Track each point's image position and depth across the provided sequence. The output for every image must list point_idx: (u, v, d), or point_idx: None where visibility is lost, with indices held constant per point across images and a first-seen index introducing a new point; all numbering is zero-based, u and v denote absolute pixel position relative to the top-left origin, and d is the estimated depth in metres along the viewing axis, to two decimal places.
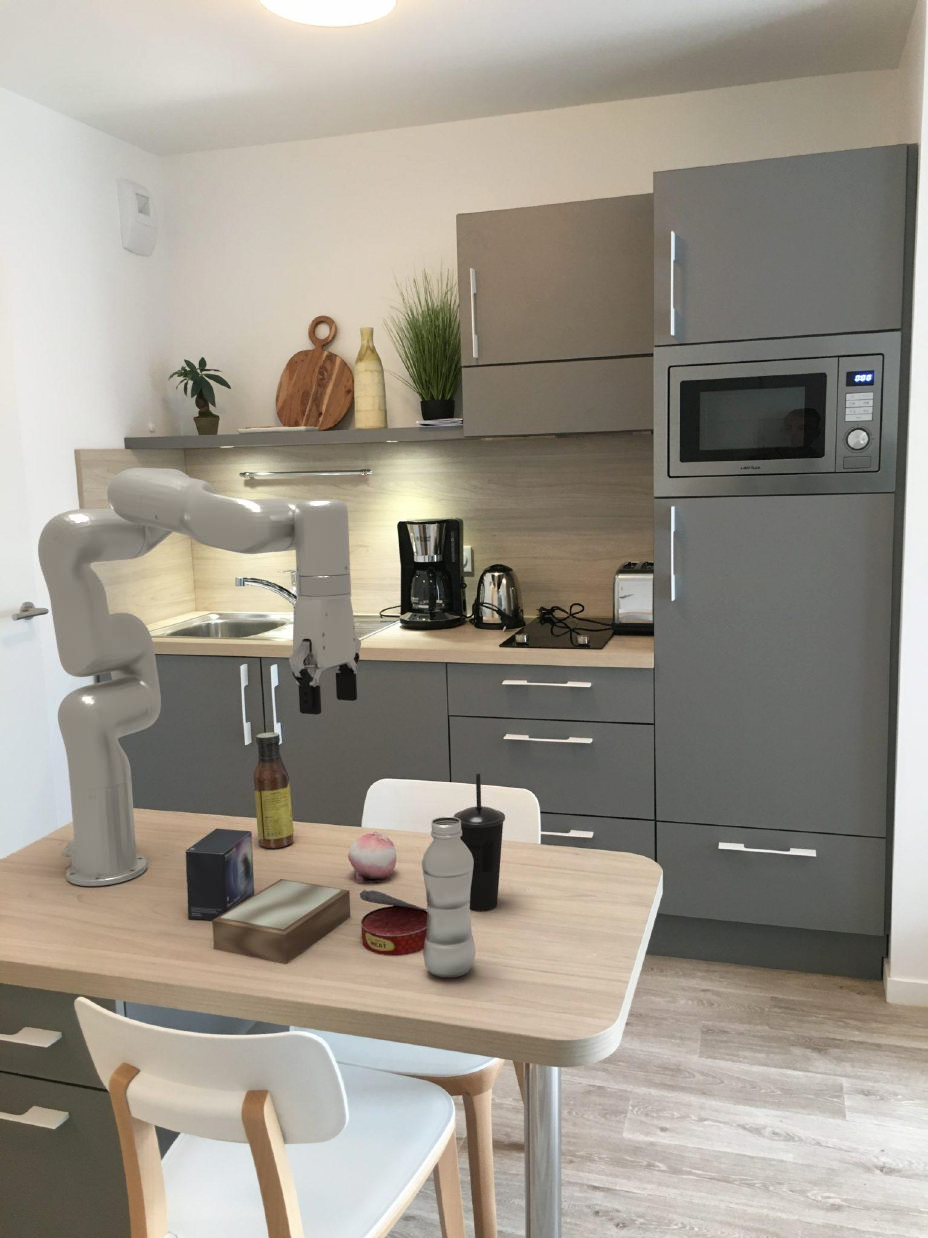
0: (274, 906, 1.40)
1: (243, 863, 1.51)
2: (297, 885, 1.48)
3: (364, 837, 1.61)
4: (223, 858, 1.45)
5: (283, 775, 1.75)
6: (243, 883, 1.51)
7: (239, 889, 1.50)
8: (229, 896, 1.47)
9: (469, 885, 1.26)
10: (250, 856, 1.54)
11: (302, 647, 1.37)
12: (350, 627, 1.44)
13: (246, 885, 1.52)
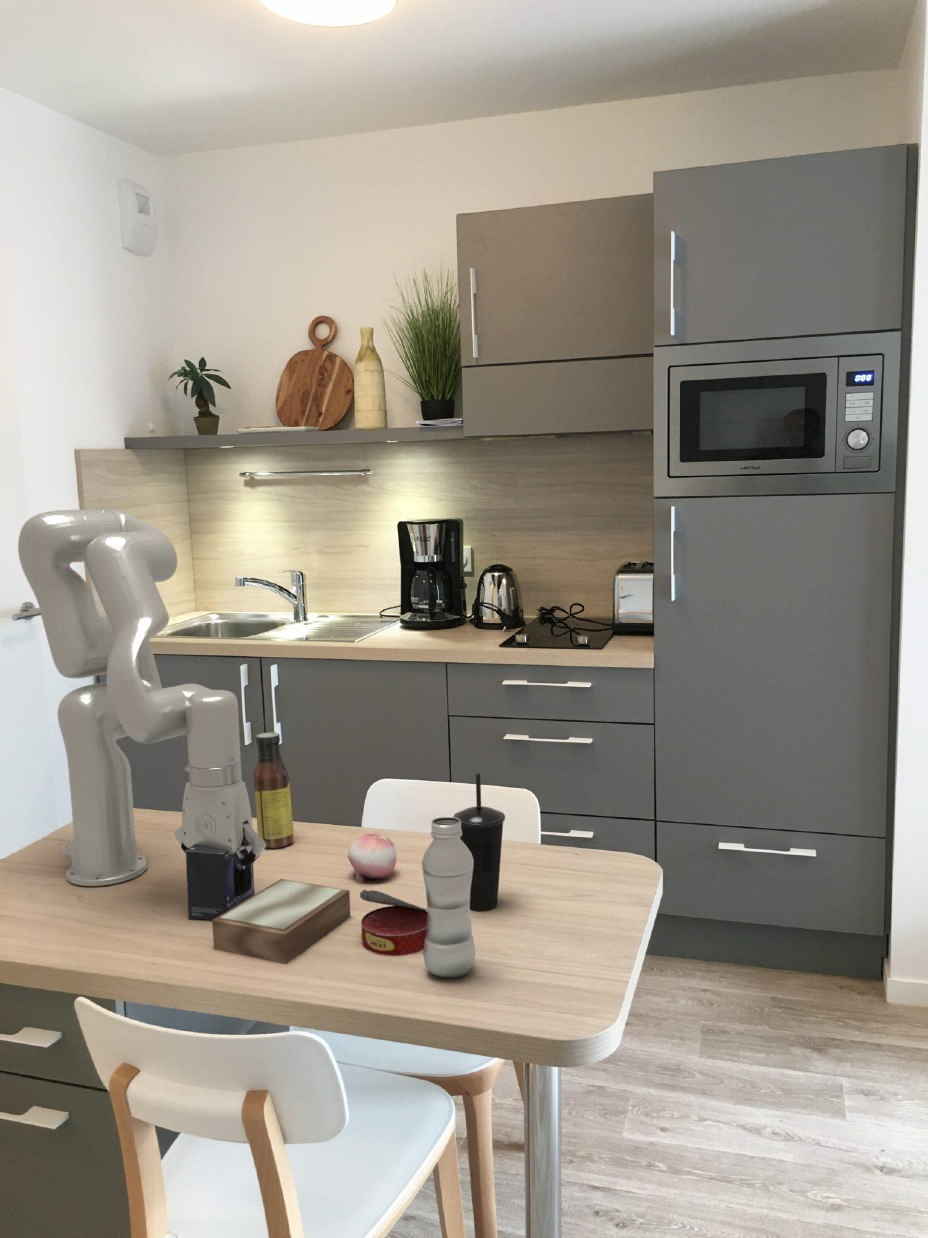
0: (274, 906, 1.40)
1: None
2: (297, 885, 1.48)
3: (364, 837, 1.61)
4: (223, 857, 1.45)
5: (283, 775, 1.75)
6: None
7: None
8: (229, 896, 1.46)
9: (469, 885, 1.26)
10: None
11: (252, 832, 1.47)
12: None
13: None
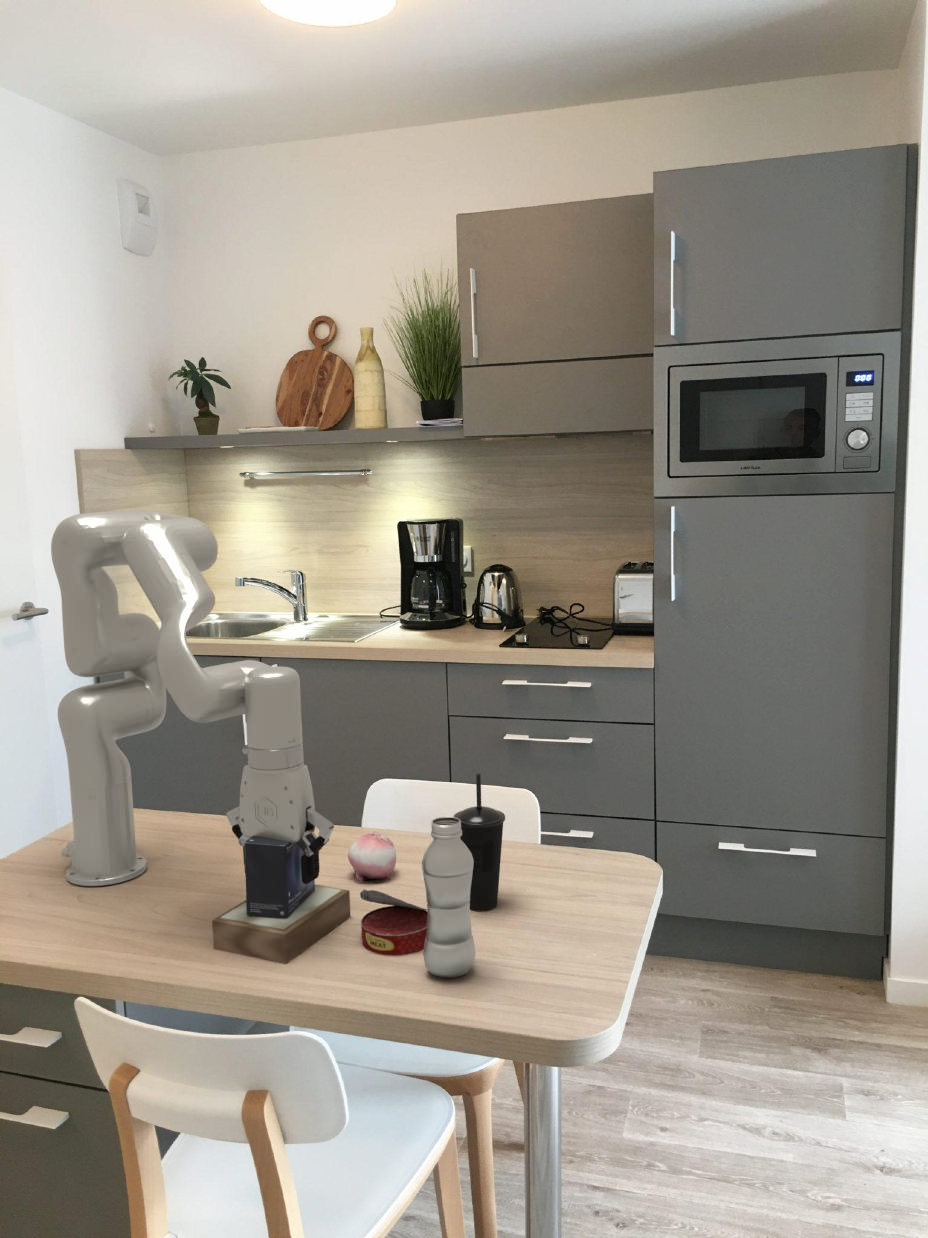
0: None
1: None
2: None
3: (364, 837, 1.61)
4: (285, 850, 1.35)
5: None
6: None
7: (301, 884, 1.40)
8: (291, 891, 1.37)
9: (469, 885, 1.26)
10: None
11: (317, 814, 1.37)
12: None
13: None
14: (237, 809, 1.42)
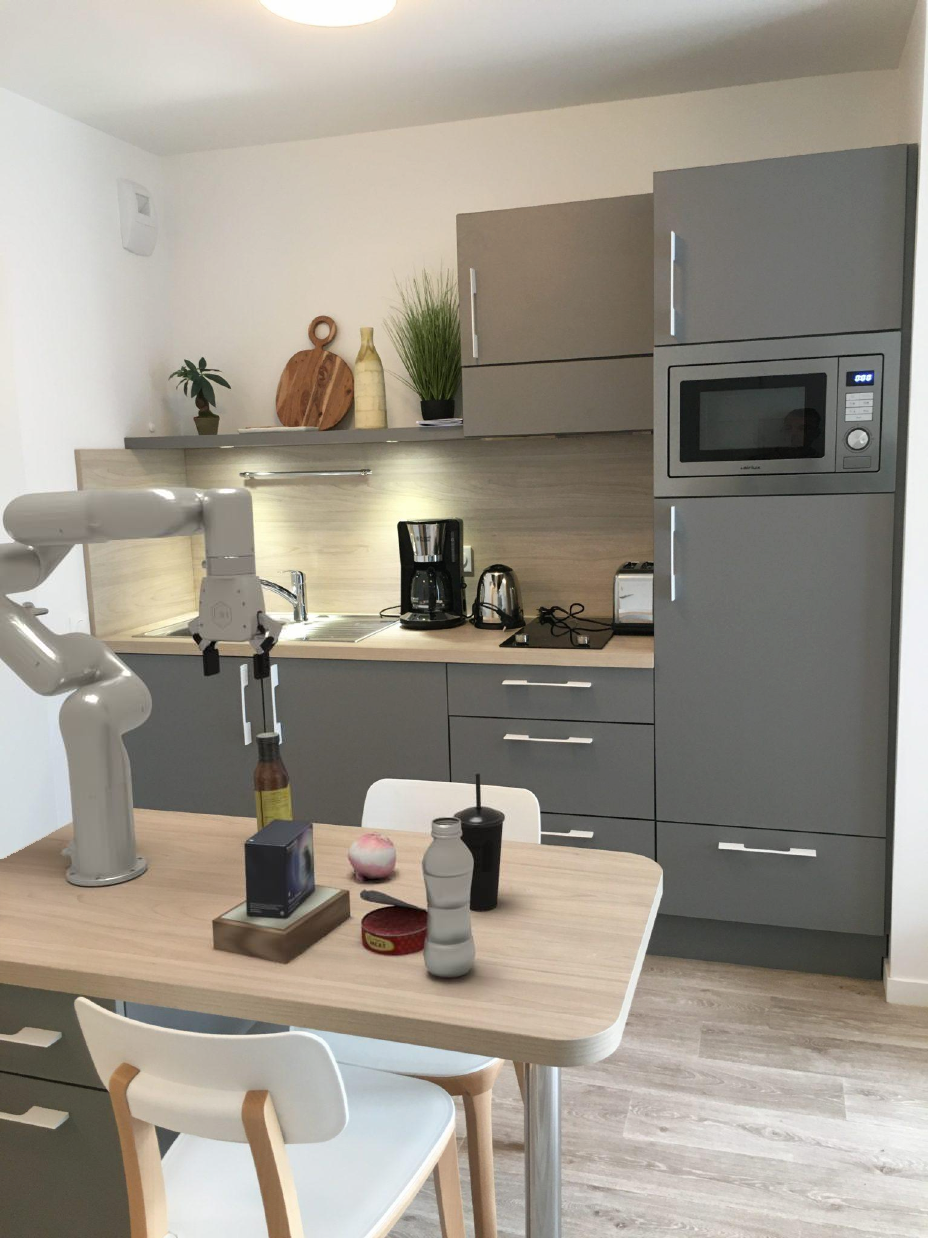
0: None
1: (304, 857, 1.41)
2: None
3: (364, 837, 1.61)
4: (284, 850, 1.35)
5: (283, 775, 1.75)
6: (304, 878, 1.41)
7: (301, 884, 1.40)
8: (291, 891, 1.37)
9: (469, 885, 1.26)
10: (311, 849, 1.44)
11: (267, 617, 1.54)
12: None
13: (307, 879, 1.42)
14: (197, 618, 1.59)
